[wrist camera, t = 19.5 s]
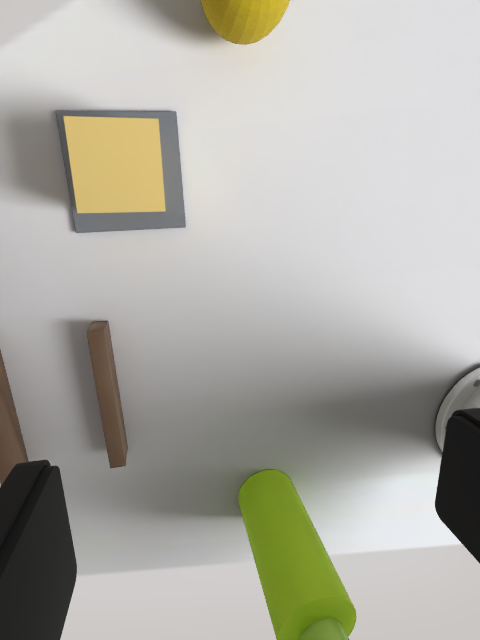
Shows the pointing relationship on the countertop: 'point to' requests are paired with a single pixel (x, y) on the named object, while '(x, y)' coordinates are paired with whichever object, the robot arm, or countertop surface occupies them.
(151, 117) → the slate coaster
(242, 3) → the lemon
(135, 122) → the ochre block
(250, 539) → the soap dispenser
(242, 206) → the countertop surface
